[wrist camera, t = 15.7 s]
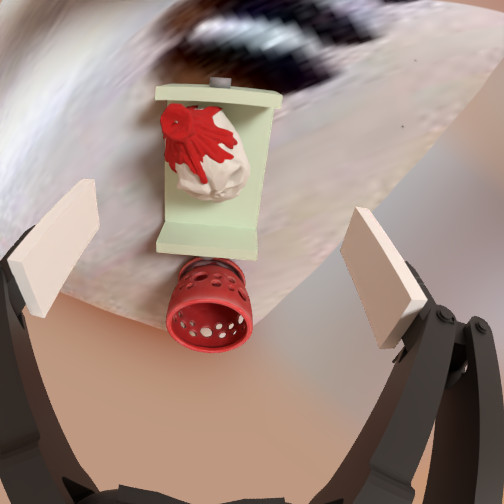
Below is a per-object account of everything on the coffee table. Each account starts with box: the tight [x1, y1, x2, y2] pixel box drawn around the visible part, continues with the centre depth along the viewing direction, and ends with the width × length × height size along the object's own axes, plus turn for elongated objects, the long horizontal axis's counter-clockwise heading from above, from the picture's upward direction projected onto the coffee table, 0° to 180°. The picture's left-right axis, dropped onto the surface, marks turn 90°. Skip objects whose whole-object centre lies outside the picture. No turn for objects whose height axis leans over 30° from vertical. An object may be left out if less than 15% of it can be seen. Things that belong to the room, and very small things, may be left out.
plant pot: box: [166, 257, 253, 353], centre depth 48 cm, size 13×13×12 cm
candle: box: [160, 103, 250, 203], centre depth 33 cm, size 9×11×15 cm
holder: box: [155, 77, 283, 261], centre depth 38 cm, size 25×14×7 cm, turn 173°
